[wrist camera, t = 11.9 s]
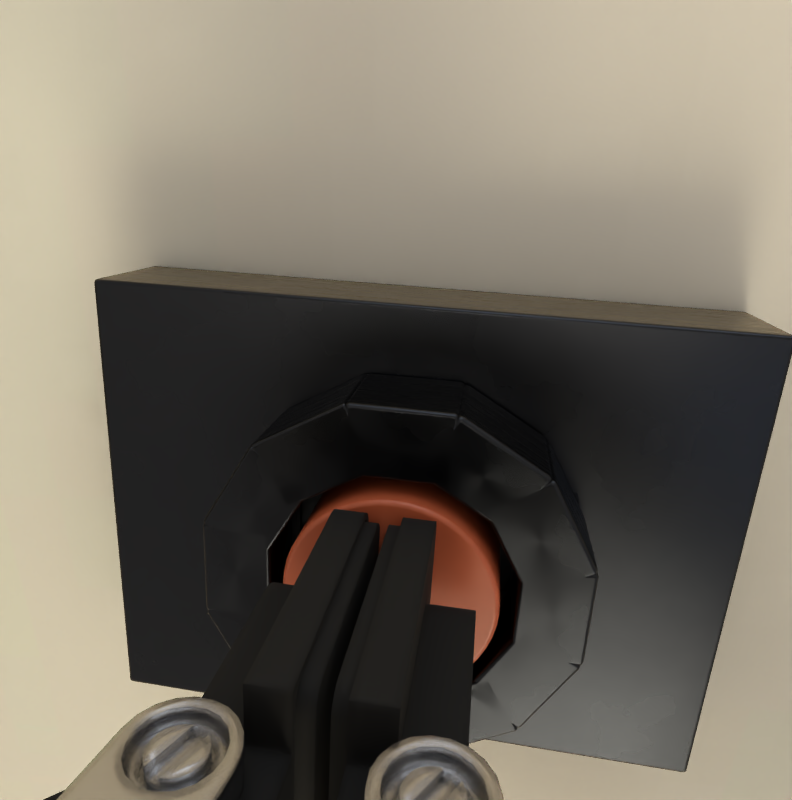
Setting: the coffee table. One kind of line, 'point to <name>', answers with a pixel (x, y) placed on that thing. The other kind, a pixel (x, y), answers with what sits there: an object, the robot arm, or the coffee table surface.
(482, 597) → the button
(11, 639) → the coffee table surface
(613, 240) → the coffee table surface
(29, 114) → the coffee table surface
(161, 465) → the button box
